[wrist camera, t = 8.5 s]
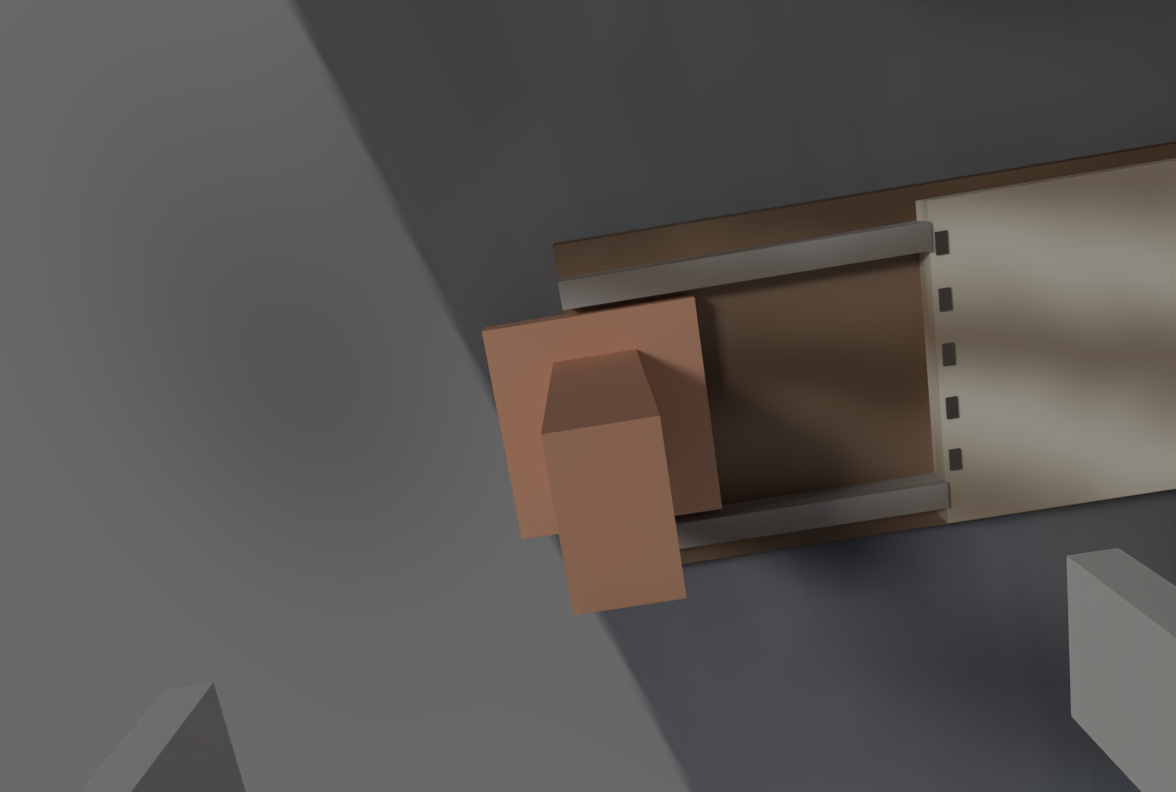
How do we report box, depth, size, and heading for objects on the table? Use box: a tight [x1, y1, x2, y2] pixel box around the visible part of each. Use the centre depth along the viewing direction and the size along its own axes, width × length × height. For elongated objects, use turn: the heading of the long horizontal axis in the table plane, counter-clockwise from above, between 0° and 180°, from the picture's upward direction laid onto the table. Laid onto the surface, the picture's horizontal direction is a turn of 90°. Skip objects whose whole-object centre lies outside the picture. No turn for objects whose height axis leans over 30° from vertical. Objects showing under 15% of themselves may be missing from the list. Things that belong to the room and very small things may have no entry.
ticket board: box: [553, 142, 1176, 564], centre depth 32 cm, size 13×28×3 cm, turn 99°
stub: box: [482, 294, 722, 615], centre depth 27 cm, size 8×8×10 cm
